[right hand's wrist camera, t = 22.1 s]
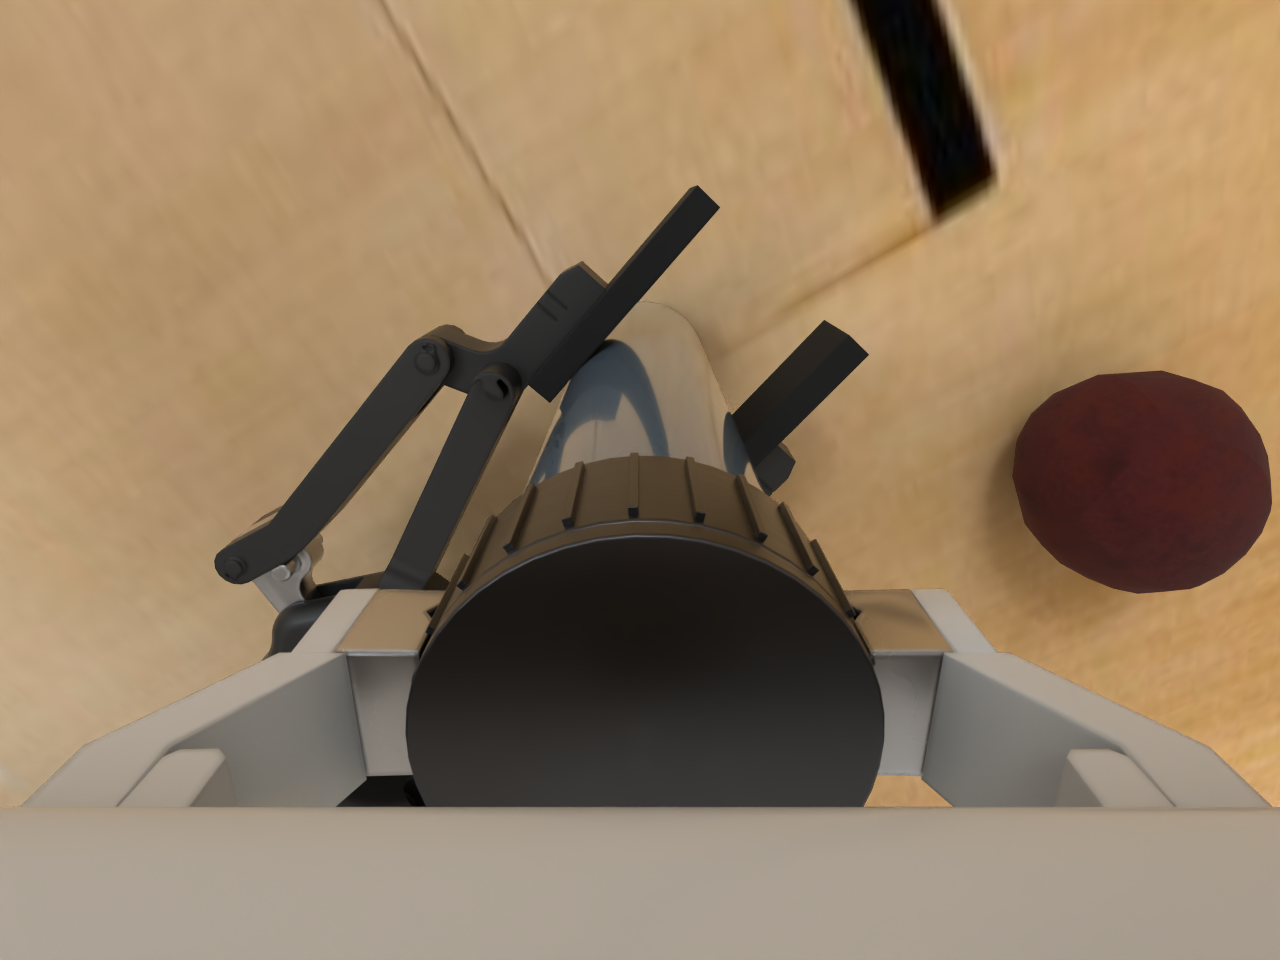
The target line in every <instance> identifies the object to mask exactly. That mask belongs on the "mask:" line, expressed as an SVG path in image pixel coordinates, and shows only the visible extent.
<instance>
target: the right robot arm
mask: <svg viewBox="0 0 1280 960" xmlns="http://www.w3.org/2000/svg"><path fill="white" fill-rule="evenodd" d="M445 591H446V590H397V589H383V590H380V589H379V588H376V589H346V590H341V591H340V592H339V593H338V594H337V595H336V596H335V598H334V599H333V600H332V601H331V603H330V604H329V605H328V606H327V608H326V609H325V610H324V611H323V613H322V614H321V615H320V616H319V618H318V619H317V620H316V622H315V623H314V624H313V625H312V627H311V628H310V629H309V630H308V632H307V633H306V634H305V635H304V637H303V638H302V639H301V641H300V642H299V643H298V644H297V646H296V647H295V648H294V649H293V651H292V652H291V653H277V654H275V655H273V656H271V657H269V658H267V659H265V660H263V661H261V662H258V663H256V664H254V665H252V666H250V667H248V668H246V669H244V670H242V671H240V672H237V673H235V674H233V675H231V676H229V677H227V678H225V679H223V680H221V681H219V682H216V683H214V684H212V685H210V686H208V687H206V688H204V689H202V690H200V691H197V692H195V693H193V694H191V695H189V696H187V697H185V698H183V699H181V700H179V701H176V702H174V703H172V704H170V705H168V706H166V707H164V708H162V709H160V710H158V711H155V712H153V713H151V714H149V715H147V716H145V717H143V718H141V719H139V720H137V721H134V722H132V723H130V724H128V725H126V726H124V727H122V728H120V729H118V730H115V731H113V732H111V733H109V734H107V735H105V736H103V737H101V738H99V739H97V740H94V741H92V742H90V743H88V744H86V745H84V746H83V747H82V748H81V749H79V750H78V751H77V752H76V753H75V754H74V755H73V756H72V757H71V758H70V759H69V760H68V761H67V762H66V763H65V764H64V765H63V766H62V767H61V768H60V769H59V770H58V771H57V772H56V773H55V774H54V775H52V776H51V777H50V778H49V779H48V780H47V781H46V782H45V783H44V784H43V785H42V786H41V787H40V788H39V789H38V790H37V791H36V792H35V793H34V794H33V795H32V796H31V797H30V798H29V799H28V800H27V801H26V802H24V803H23V804H22V805H21V806H20V807H0V960H1280V807H1272V806H1271V805H1270V804H1269V803H1268V802H1267V801H1266V800H1265V799H1264V798H1263V797H1262V796H1261V795H1260V794H1259V793H1258V792H1257V791H1255V790H1254V789H1253V788H1252V787H1251V786H1250V785H1249V784H1248V783H1247V782H1246V781H1245V780H1244V779H1243V778H1242V777H1241V776H1240V775H1239V774H1238V773H1237V772H1235V771H1234V770H1233V769H1232V768H1231V767H1230V766H1229V765H1228V764H1227V763H1226V762H1225V761H1224V760H1223V759H1222V758H1221V757H1220V756H1219V755H1218V754H1217V753H1215V752H1214V751H1213V750H1212V749H1211V748H1210V747H1209V746H1207V745H1205V744H1202V743H1200V742H1198V741H1196V740H1194V739H1192V738H1190V737H1188V736H1185V735H1183V734H1181V733H1179V732H1177V731H1175V730H1173V729H1171V728H1169V727H1166V726H1164V725H1162V724H1160V723H1158V722H1156V721H1154V720H1152V719H1149V718H1147V717H1145V716H1143V715H1141V714H1139V713H1137V712H1135V711H1132V710H1130V709H1128V708H1126V707H1124V706H1122V705H1120V704H1118V703H1116V702H1113V701H1111V700H1109V699H1107V698H1105V697H1103V696H1101V695H1099V694H1096V693H1094V692H1092V691H1090V690H1088V689H1086V688H1084V687H1082V686H1079V685H1077V684H1075V683H1073V682H1071V681H1069V680H1067V679H1065V678H1063V677H1060V676H1058V675H1056V674H1054V673H1052V672H1050V671H1048V670H1046V669H1043V668H1041V667H1039V666H1037V665H1035V664H1033V663H1031V662H1029V661H1026V660H1024V659H1022V658H1020V657H1018V656H1016V655H1014V654H1012V653H998V652H997V651H996V650H995V648H994V647H993V646H992V645H991V643H990V642H989V641H988V640H987V638H986V637H985V636H984V635H983V634H982V632H981V631H980V630H979V629H978V627H977V626H976V625H975V624H974V623H973V621H972V620H971V619H970V618H969V616H968V615H967V614H966V613H965V611H964V610H963V609H962V608H961V607H960V605H959V604H958V603H957V602H956V600H955V599H954V598H953V597H952V596H951V594H950V593H949V592H948V591H946V590H944V589H941V588H936V589H913V590H909V589H895V590H854V591H844V593H845V595H846V597H847V599H848V601H849V602H850V604H851V606H852V608H853V610H854V612H855V614H856V615H855V616H853V618H854V620H855V621H854V625H855V627H856V629H857V631H858V633H859V635H860V637H861V639H862V641H863V643H864V645H865V646H866V648H867V650H868V652H869V654H870V655H873V657H874V660H875V665H873V667H874V670H875V673H876V676H877V679H878V682H879V685H880V688H881V694H882V701H883V707H884V713H885V730H884V745H883V751H882V757H881V763H880V768H879V771H878V773H877V775H899V776H922V780H923V781H924V782H925V783H927V784H928V785H929V786H930V787H931V788H932V789H934V790H935V791H936V792H937V793H938V794H939V795H940V796H942V797H943V798H944V799H945V800H946V801H947V802H949V803H950V804H951V805H952V806H953V807H336V806H337V805H338V804H339V803H340V802H342V801H343V800H344V799H345V798H346V797H347V796H348V795H350V794H351V793H352V792H353V791H354V790H355V789H356V788H358V787H359V786H360V785H361V784H362V783H363V782H365V781H366V780H367V778H366V776H389V775H413V773H412V770H411V766H410V763H409V759H408V751H407V743H406V735H405V728H406V707H407V702H408V697H409V692H410V687H411V683H412V676H413V674H414V673H415V672H416V669H417V667H418V664H419V662H420V659H421V656H422V654H423V652H424V650H425V648H426V646H427V644H428V642H429V640H430V638H431V636H432V635H429V634H427V633H425V631H426V629H427V627H428V625H429V623H430V621H431V619H432V617H433V615H434V613H435V611H436V609H437V607H438V605H439V603H440V601H441V599H442V597H443V595H444V593H445Z"/></svg>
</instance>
